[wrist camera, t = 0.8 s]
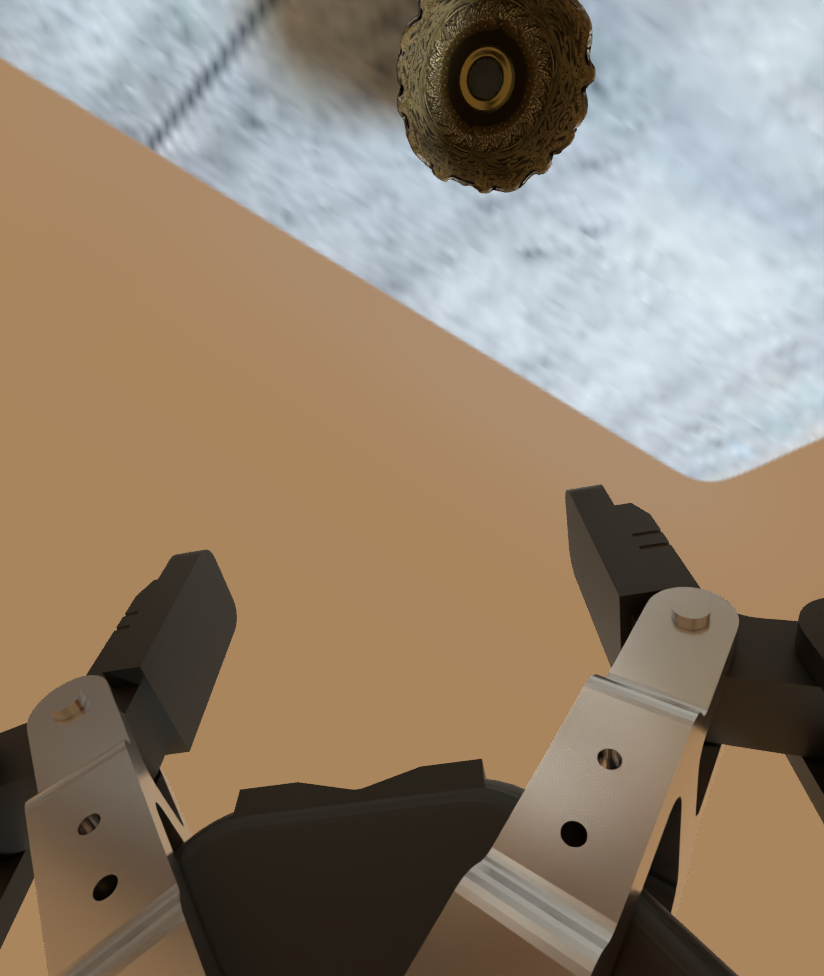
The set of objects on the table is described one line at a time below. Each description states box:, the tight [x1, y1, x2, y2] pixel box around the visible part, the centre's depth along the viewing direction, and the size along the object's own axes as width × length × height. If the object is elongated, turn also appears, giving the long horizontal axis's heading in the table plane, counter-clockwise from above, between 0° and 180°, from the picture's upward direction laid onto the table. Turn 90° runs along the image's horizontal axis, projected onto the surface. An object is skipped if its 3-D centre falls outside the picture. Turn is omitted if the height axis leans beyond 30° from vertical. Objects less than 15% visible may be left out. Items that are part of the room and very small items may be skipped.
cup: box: [396, 0, 596, 193], centre depth 25 cm, size 8×7×8 cm
